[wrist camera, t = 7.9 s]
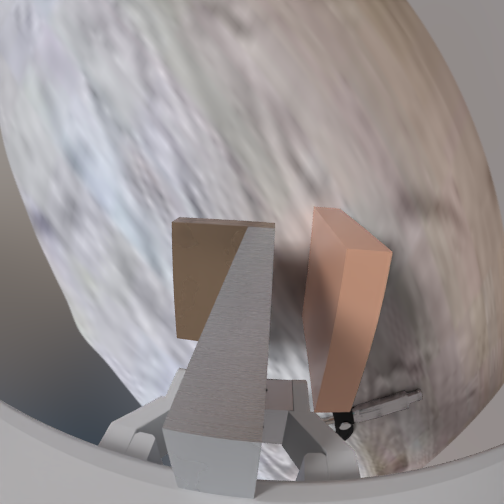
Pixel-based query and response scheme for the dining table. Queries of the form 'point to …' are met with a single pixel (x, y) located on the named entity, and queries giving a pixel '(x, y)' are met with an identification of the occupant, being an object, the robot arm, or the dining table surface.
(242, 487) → the bookend
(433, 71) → the dining table surface
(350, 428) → the micrometer
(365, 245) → the tile
